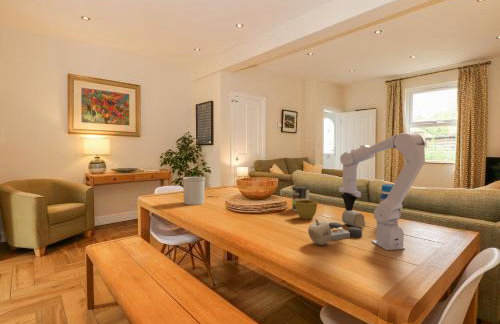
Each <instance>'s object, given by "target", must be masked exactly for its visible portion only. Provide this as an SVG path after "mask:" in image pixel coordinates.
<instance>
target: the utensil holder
mask: <svg viewBox="0 0 500 324" xmlns="http://www.w3.org/2000/svg"><path fill="white" fill-rule="evenodd" d="M182 181H183V187H182V188H183V204H185V205H188V206H195V205H196V206H197V205H203V204H204V203H205V186H206V185H205V183H206V177H204V176H203V177H202V176H186V177H183V178H182Z"/></svg>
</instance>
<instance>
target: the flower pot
mask: <svg viewBox="0 0 500 324" xmlns="http://www.w3.org/2000/svg"><path fill="white" fill-rule="evenodd" d="M295 202H296V210H297V211H296V212H297V215H298V217H299V218H301V219H303V220H308V219H311V220H312V219H313V218H314V217H315V215H316V212H317V208H318V202H316V201H314V200H311V199H309V200H298V201H295Z"/></svg>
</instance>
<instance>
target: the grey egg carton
mask: <svg viewBox="0 0 500 324" xmlns="http://www.w3.org/2000/svg"><path fill="white" fill-rule="evenodd" d="M348 238H351V237H350V232H348V230H345V229H344V228H343V227H342V226H341V227H339V228H333V229H331V238H330V241H336V240H337V241H338V240H342V239H348Z"/></svg>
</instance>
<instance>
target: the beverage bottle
mask: <svg viewBox="0 0 500 324" xmlns="http://www.w3.org/2000/svg"><path fill="white" fill-rule="evenodd" d="M393 185H394V184H388V183H386V184H381V192H382V193H381V195H380V196H379V200H380V201H379V205H378V206H380V204H381V202H382V201H384V200H385V199H386V198H387V196H388V194H389V193H390V191H391V189H392V187H393ZM397 224H398V225H399V222H398V223H397Z"/></svg>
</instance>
